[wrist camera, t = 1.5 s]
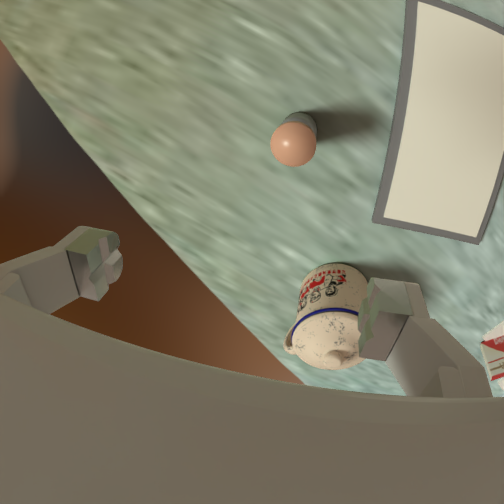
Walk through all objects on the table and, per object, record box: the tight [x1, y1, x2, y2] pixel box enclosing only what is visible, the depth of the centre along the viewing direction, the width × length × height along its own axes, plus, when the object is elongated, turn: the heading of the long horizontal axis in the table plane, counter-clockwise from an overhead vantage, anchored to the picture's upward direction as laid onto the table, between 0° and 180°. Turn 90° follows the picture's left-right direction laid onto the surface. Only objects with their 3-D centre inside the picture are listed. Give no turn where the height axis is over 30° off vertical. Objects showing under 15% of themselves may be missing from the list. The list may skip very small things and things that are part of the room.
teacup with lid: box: [284, 263, 368, 370], centre depth 35 cm, size 12×9×12 cm
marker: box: [271, 112, 317, 167], centre depth 27 cm, size 4×4×8 cm
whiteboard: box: [372, 0, 504, 245], centre depth 25 cm, size 25×14×1 cm, turn 177°
